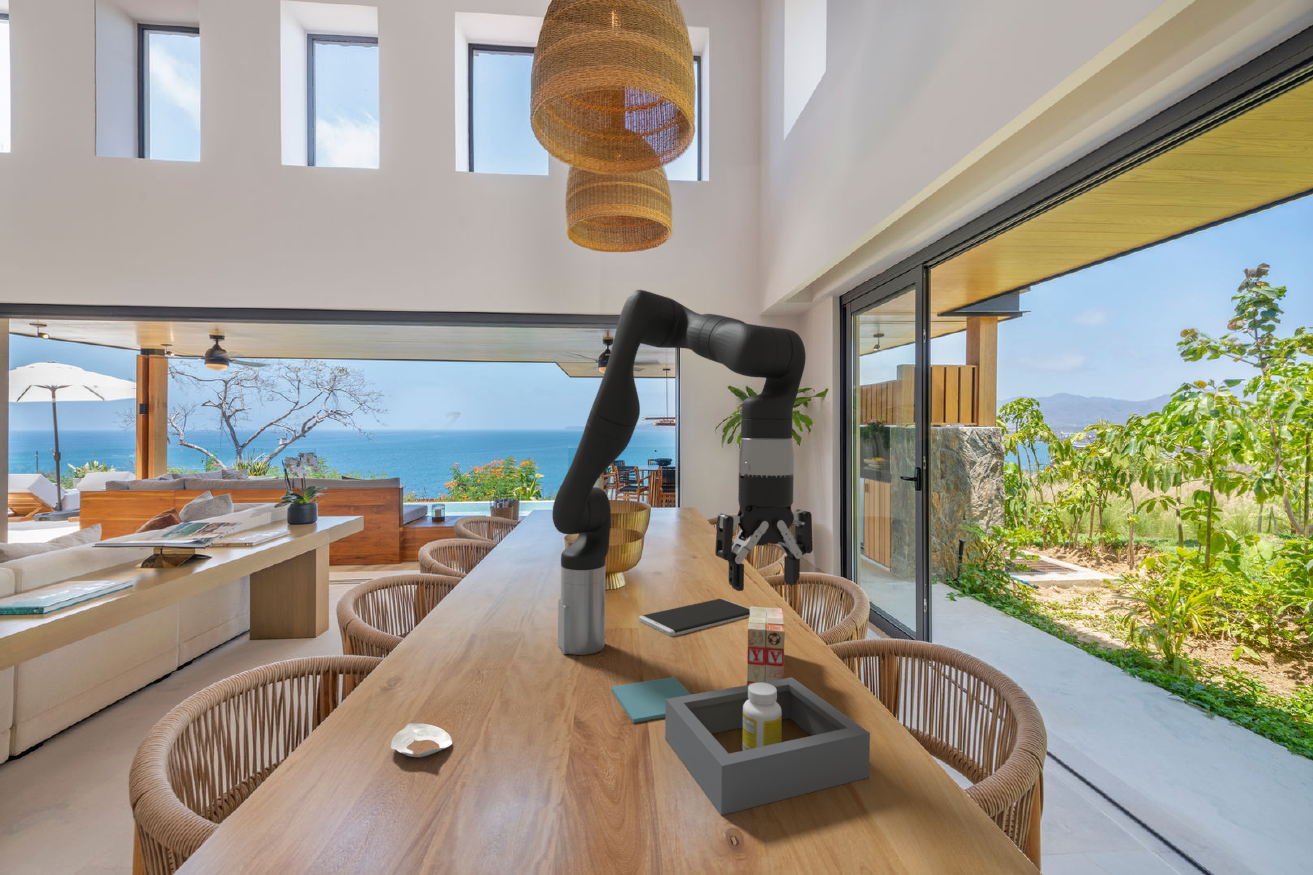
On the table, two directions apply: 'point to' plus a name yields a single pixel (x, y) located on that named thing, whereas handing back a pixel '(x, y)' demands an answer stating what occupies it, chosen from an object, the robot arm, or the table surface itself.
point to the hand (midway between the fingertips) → (764, 586)
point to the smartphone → (695, 617)
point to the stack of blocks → (765, 645)
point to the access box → (765, 747)
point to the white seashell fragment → (420, 738)
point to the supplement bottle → (761, 717)
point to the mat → (648, 697)
